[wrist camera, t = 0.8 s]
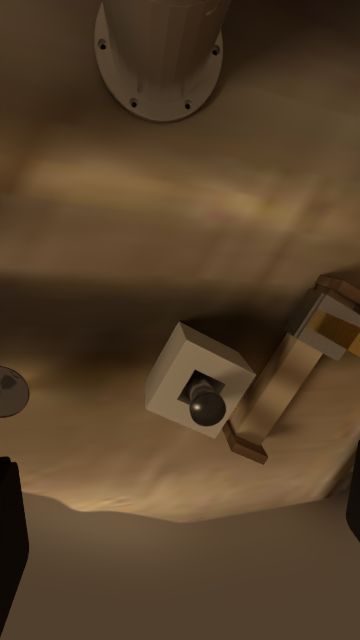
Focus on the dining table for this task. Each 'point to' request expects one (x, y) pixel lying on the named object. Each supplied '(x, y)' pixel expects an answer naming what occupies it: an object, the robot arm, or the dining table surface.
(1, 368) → the wine glass
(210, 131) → the dining table surface
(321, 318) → the carriage
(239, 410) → the rail
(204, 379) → the plunger
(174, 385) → the housing
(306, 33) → the dining table surface
